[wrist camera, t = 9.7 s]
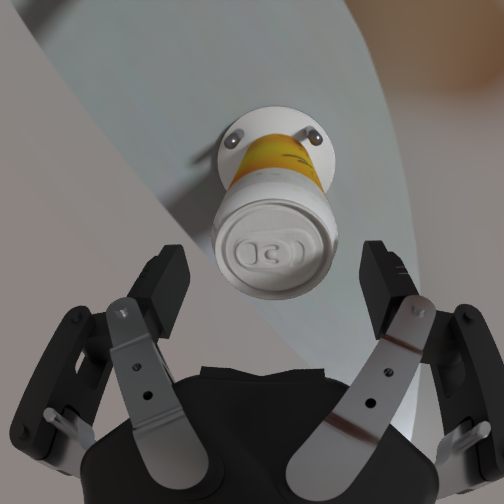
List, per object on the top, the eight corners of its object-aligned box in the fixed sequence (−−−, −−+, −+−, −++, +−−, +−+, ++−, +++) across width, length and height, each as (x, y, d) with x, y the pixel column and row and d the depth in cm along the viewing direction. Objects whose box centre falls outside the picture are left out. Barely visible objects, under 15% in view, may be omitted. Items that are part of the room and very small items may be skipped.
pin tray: (213, 111, 23) (197, 117, 19) (332, 105, 22) (346, 110, 17) (226, 214, 29) (216, 242, 25) (331, 211, 28) (341, 239, 23)
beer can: (308, 194, 26) (332, 307, 14) (245, 193, 27) (213, 303, 14) (310, 133, 23) (351, 194, 10) (242, 132, 23) (197, 192, 11)
